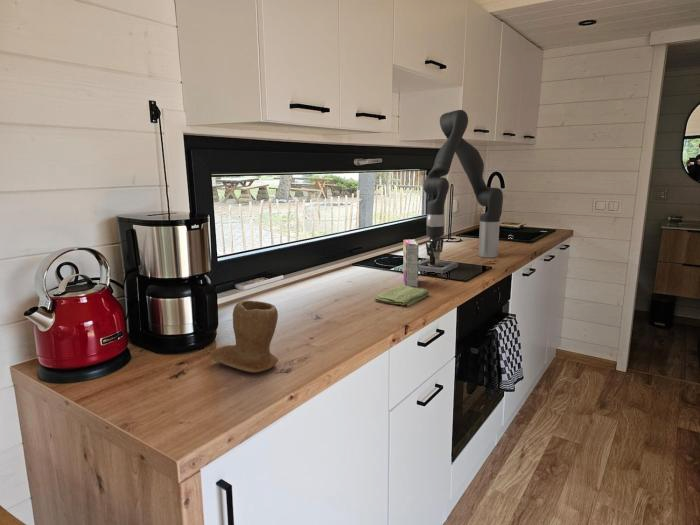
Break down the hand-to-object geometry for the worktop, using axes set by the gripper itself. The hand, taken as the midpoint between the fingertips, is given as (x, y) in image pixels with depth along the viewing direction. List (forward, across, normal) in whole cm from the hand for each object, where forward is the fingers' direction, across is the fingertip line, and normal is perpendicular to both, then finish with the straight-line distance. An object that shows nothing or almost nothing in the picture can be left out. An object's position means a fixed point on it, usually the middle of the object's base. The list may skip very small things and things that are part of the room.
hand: (434, 263), depth 209 cm
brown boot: (+2, +116, +5) cm, 116 cm away
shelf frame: (+2, 0, 0) cm, 2 cm away
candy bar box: (+2, +29, +3) cm, 29 cm away
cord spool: (+1, 0, 0) cm, 1 cm away
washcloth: (+3, +49, +10) cm, 50 cm away
